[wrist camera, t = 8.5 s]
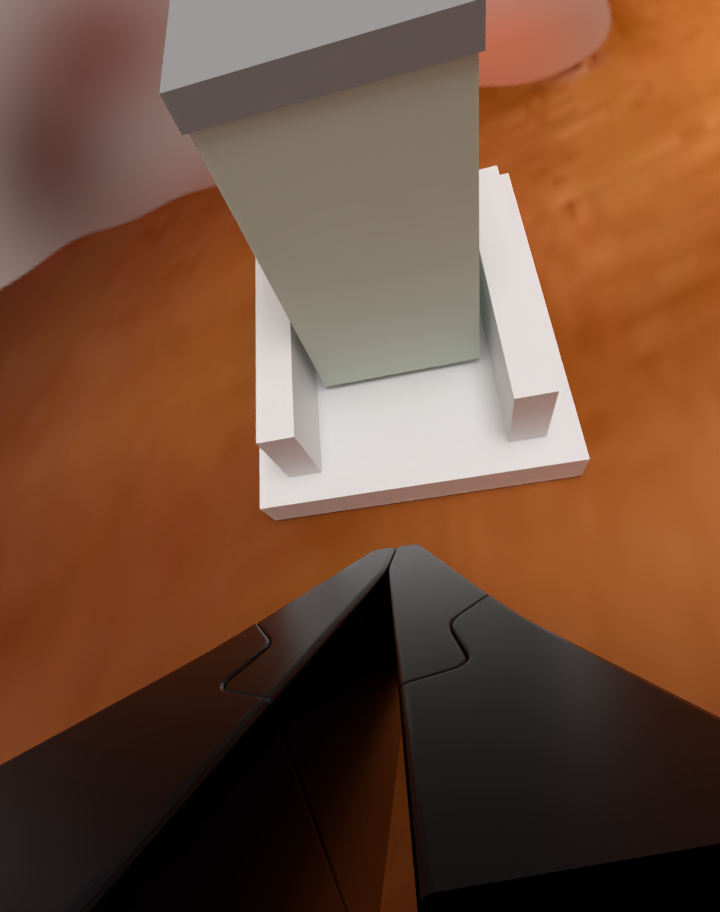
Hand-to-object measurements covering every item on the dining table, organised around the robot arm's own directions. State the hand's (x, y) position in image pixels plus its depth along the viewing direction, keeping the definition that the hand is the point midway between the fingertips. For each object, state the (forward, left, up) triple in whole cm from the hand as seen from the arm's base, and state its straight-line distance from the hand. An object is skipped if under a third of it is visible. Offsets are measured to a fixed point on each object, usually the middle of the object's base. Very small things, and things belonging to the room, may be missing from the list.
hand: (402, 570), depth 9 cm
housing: (+8, +7, -8) cm, 14 cm away
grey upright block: (+8, +7, -7) cm, 13 cm away
